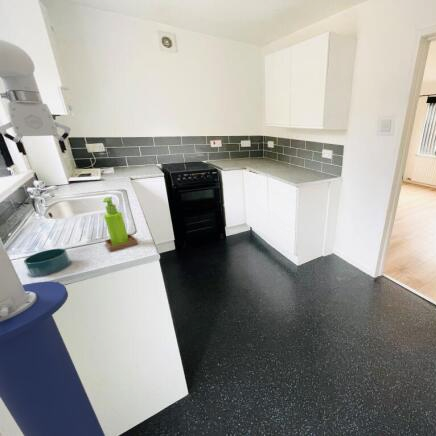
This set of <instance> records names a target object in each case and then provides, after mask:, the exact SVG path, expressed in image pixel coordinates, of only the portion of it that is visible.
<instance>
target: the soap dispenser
mask: <svg viewBox="0 0 436 436" xmlns="http://www.w3.org/2000/svg"><path fill="white" fill-rule="evenodd" d="M112 199H113V196H107V197H104V198H103V200H102V202H103V203H106V206H105V210H106V213H105V214H103V218H104V221H105V224H106V228H107V231H108V235H109V237H110V238H109V239H111V241H112V244H113V246H115V245H119V244H122V243H126V242H129V239H128V232H127V228H126V225H125V221H124V217H123V213H122V212H121V211H118V209H117V205H116V204H114V203H113V200H112Z"/></svg>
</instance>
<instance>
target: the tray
mask: <svg viewBox="0 0 436 436" xmlns="http://www.w3.org/2000/svg"><path fill="white" fill-rule="evenodd" d="M127 235H128V239H129V242H126V243H122V244H119V245H115V246H113V244H112V241H111V238H108V239H104V243H105V245H106V247H107V249H108V250H109V251H110V253H112V252H115V251H118V250H122V249H125V248H130V247H133V246H136V245H138V242H137V239H136V238H135V236H133V235H132V233H127Z"/></svg>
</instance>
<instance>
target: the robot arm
mask: <svg viewBox="0 0 436 436" xmlns="http://www.w3.org/2000/svg"><path fill="white" fill-rule="evenodd" d="M35 70H36V69H35V64H34V60H33V59H32V58H31V56H30V55H29V54H28V53H27V52H26V51H25V50H24V49H23V48H22V47H20V46H18V45H16V44H14V43H11V42H8V41H6V40H3V39H1V38H0V79H1V82H2V85H3V87H4V90H5V92H3V93H2V92H1V93H0V97H1V99H6V100H8V101H7V102H6V108H7V113H8V116H9V119H10V122H7V123H5V124H2V125H0V134H1V135H2V136H4V137H5V138H7V139H8V140H10V141H12V142H14V143H15V146H16V149H17V151H18V153H20V154H22V155H23V156H26V155H27V152H26V149H25V147H24V144H23V142H22V141H21V139H23V137H46V136H49V137H50V136H53V137H55V138H56V139H58V145H59V148H60V152H61V153H62V154H65V153H66V151H67V147H66V143H65V140H66V139H67V138H68V137H69V135H70V132H71V127H70V126H66V125H64V124H61V123H59V122H55V119H54V116H53V114H52V112H51V110H50V108H49V106H48V104H47V103H44V102H43V98H42V96H41V93H40V90H39V86H38V84H37V80H36V78H35V74H34V72H35ZM11 128H12V129H13V131H14V133H15V134H16V135H15V136H13V135H11V134H10V133H8V131H7V130H9V129H11ZM58 128H59V129H62V130H64V131H63V134H62V135H60V134H59V131H58ZM22 285H23V284H22V281H21V278H19V275H18V273H17V270H16V269H15V267H14V264H13V263H12V260H11V258H10V256H9V254H8V252H7V250H6V248H5V245H4V243H3V241H2V238H1V237H0V322H1V321H4V320H7V319H9V318H11V317H14V316H16V315H18V314H20V313H21V312H23V311H25V310H26V309H28V308H29V307H31V306H32V305H33V304H34V303H35V301H36V300H37V296H36V294H35V293H34V292H28V291H25V290H24V288H23V286H22Z"/></svg>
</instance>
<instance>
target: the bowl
mask: <svg viewBox="0 0 436 436" xmlns="http://www.w3.org/2000/svg"><path fill="white" fill-rule="evenodd" d="M23 263H24V265H25V269H26V270H27V272H28V274H29V276H31V277H36V278H37V277H45V276H49V275H53V274H55V273H58V272H61V271H63V270H65V269H67V268H68V267H69V266H70V265H71V260H70V257H69V255H68V251H67V250H66V249H65V248H52V249H46V250H43V251H39V252H37V253H34V254H32V255H29V256H28V257H26V258H25V259H24V260H23Z"/></svg>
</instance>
